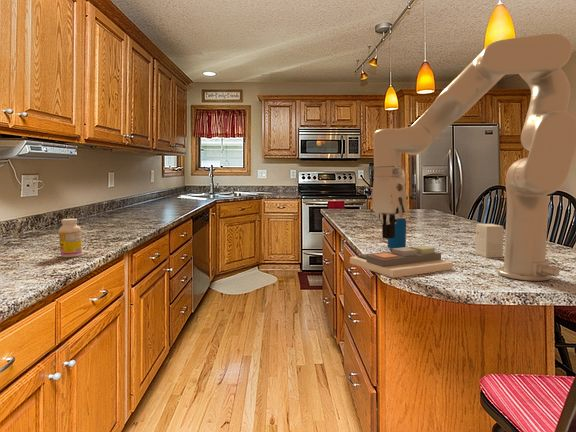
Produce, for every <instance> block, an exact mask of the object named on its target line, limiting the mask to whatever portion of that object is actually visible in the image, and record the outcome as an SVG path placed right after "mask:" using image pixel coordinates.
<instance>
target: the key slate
mask: <svg viewBox="0 0 576 432" xmlns="http://www.w3.org/2000/svg"><path fill="white" fill-rule="evenodd" d="M391 251H392V254H395V255H399V256H402V257H406V256H414V255H417V250H415V249H411V248H410V247H402V248H393V249H392V250H391Z"/></svg>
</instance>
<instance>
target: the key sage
mask: <svg viewBox="0 0 576 432" xmlns="http://www.w3.org/2000/svg"><path fill="white" fill-rule="evenodd" d="M409 248H411V249H415V250H417V254H422V255H423V254H431V253H435V252H436V250H435V247H431V246H428V245H427V246H426V245H413V246H409Z"/></svg>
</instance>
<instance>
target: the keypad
mask: <svg viewBox="0 0 576 432" xmlns="http://www.w3.org/2000/svg"><path fill="white" fill-rule="evenodd" d="M382 253H389V254H392V250H390V251H384V252H375V253H374V252H373V253H364V254H357V255H355V256H350V257H349V264H351V265H353V266H356V267H360V268H362V269H365V270H368V271H371V272H374V273H378V274H380V275H384V276H387V277H389V278H391V279H393V278H400V277H407V276H414V275H415V276H416V275H423V274H429V273H436V271H437V272H442V271H443V272H444V271H449V270H453V266H454V265H453V264H454V263H453V261H447V260H443V259H442V252H439V251H435V253H431V254H423V255H422V254H417V255H414V256H406V257H402V256H399V255H397V256H398V257H397V258H389V259H382V258H378V257H375V256H373V254H382ZM393 255H395V254H393Z"/></svg>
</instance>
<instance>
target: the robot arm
mask: <svg viewBox="0 0 576 432" xmlns="http://www.w3.org/2000/svg"><path fill="white" fill-rule="evenodd" d="M572 52H573V46H572V43H571V41H570V40H569V38H568V37H566V36H564V35H562V34H560V33H559V34H558V33H545V34H537V35H531V36H530V35H529V36H522V37H513V38H507V39H500V40H496V41H494V42H491V43H489V44H488V45H487V46H485V47H484V48H483V50H482V51H480V53H479V54H478V55H477V56H476V57H475V58H474V59H473V60H472V61H471V62H470V63H469V64H468V65H467V66H466V67H465V68H464V69H463V70H462V71H461V72H460V73H459V74H458V75H457V77H455V78H454V79H453V80H452V81H451V82H450V83H449V84H448V85H447V86H446V87H445V88H444V89H443V90H442V91H441V93H440V94H439V95H438V96H436V98H435V100H434V101H433V102H432V104H431V105H430V106H429V107H428V108H427V110H426V111H425V112H424V113H423V114H422V115H421V116H420V117H419V118H418V119H417V120H416V121H414V123H413V124H412V125H411V126H410V125H409V126H406V127H405V126H404V127H401V128H394V127H393V128H391V127H390V128H381V129H377V130H375V131H374V133H373V136H372V137H373V138H372V139H373V183H372V193H371V195H372V198H371V199H372V200H371V205H372V207H371V208H372V211H373V212H374V216H375V217H377V218H379V221H380V224H381V225H382V227H381V229H382V235H381V236H382V239H387V240H388V239H389V238H395V224H396V221H397V220H398V219H400V218H403V217H404V214H405V213H407V211H408V202H407V201H408V199H407V189H406V184H405V179H404V178H403V177H402V176H403V175H402V173H403V169H402V153H403V154H407V155H409V156H416V155H419V154H422V153H424V152H426V151H427V150H428V149H429V147H430V146H431V143H432V142H433V141H434V140H435V139H436V138H437V137H438V136H439V135H440V134H441V133H443V132H444V131H445V130H446V129H447V128H448V127H450V125H452V124H453V123H455V122H456V121H457V120H459V119H460V118H462V117H463V116H464V115H465V114H466V113H468V112H469V110H470V109H471V108H473V106H474V105H476V104H477V102H479V101H480V99H482V97H483V96H484V95H485V94H487V93H488V92H489V91H490V90H492V88H493V87H494V86H495V85H496V84H497V83H498V82H499V81H500V80H502V78H503V77H505V76H506V75H519V76H520V77H521V78H522V80H524V82H525V83H526V84H527V85H528V87H529V89H530V101H529V106H528V109H527V113H526V116H525V121H524V124H523V127H522V130H521V134H520V144H521V146H522V147H523V148H524V149H525V150H527V151H528V155H527V157H523V158H520V159H518V160H516V161H514V162H513V163H512V164H511V165H510V166H509V168H508V169H507V171H506V174H505V193H506V217H505V218H506V219H505V233H504V234H505V237H504V239H505V241H504V254H503V257H504V259H503V266H499V267H498V268H497V269H496V270H497V271H496V272H497V274H498V275H500V276H503V277H505V278H509V279H515V280H521V281H528V282H529V281H533V282H535V281H536V282H539V281H540V282H541V281H543V282H544V281H549V280H551V279H552V277H555V278H557V277H559V274H560V268H558V267H553V266H552V267H551V266H550V263H551V261H549V260H546V256H547V253H546V252H547V239H548V238H547V237H548V223H549V222H548V221H549V220H548V219H549V201H548V200H549V198H548V195H551V194H553V193H555V192H557V191H558V190H560V189H561V188H562V186H563V185H564V184H565V182H566V180H567V177H568V176H569V173H570V169H571V166H572V163H573V160H574V157H575V153H576V117H575V116H574V115H572V114H571V113H570V112H568V107H569V103H570V100H571V99H570V98H571V95H572V94H571V91H572V90H571V89H572V88H571V84H570V81H569V79H568V77H567V75H566V73H565V72H564V70H563V69H562V67H564V66H565V65H566V64H567V63H568V62H569V60H570V58H571V56H572Z"/></svg>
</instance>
